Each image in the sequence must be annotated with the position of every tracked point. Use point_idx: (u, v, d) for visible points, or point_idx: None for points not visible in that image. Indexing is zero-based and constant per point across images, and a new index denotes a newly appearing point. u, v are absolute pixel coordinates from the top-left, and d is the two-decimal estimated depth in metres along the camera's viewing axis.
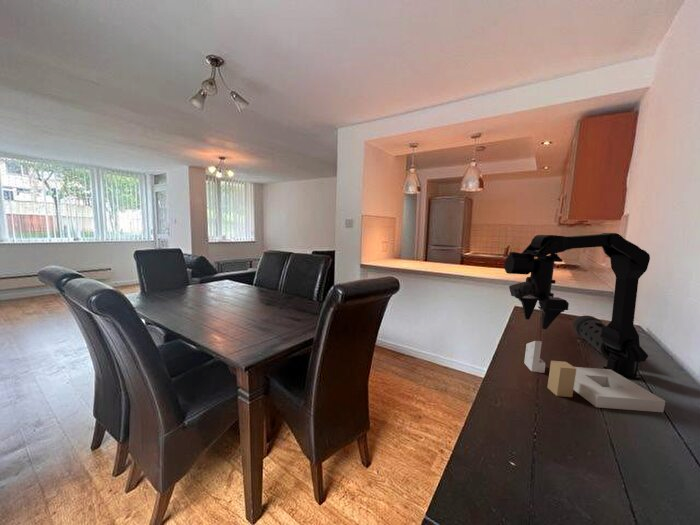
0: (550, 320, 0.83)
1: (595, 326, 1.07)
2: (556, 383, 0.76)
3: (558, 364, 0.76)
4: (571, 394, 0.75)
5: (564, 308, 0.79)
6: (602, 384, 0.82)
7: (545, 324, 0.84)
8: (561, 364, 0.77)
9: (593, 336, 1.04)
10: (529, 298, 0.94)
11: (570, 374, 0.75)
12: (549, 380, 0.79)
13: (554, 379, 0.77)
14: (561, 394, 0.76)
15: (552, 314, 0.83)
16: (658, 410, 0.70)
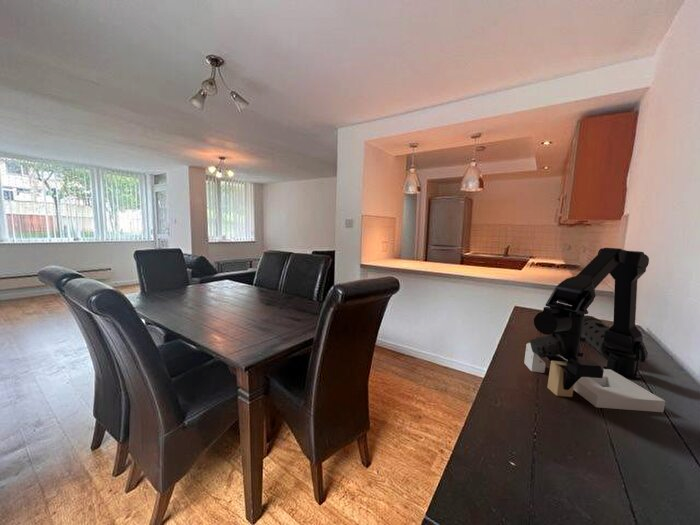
0: (573, 381, 0.74)
1: (595, 326, 1.07)
2: (556, 383, 0.76)
3: (558, 364, 0.77)
4: (571, 394, 0.75)
5: (598, 376, 0.67)
6: (602, 384, 0.82)
7: (567, 385, 0.74)
8: (561, 363, 0.77)
9: (593, 336, 1.04)
10: (558, 356, 0.79)
11: None
12: (549, 380, 0.79)
13: (554, 379, 0.77)
14: (561, 394, 0.76)
15: (575, 374, 0.73)
16: (658, 410, 0.70)
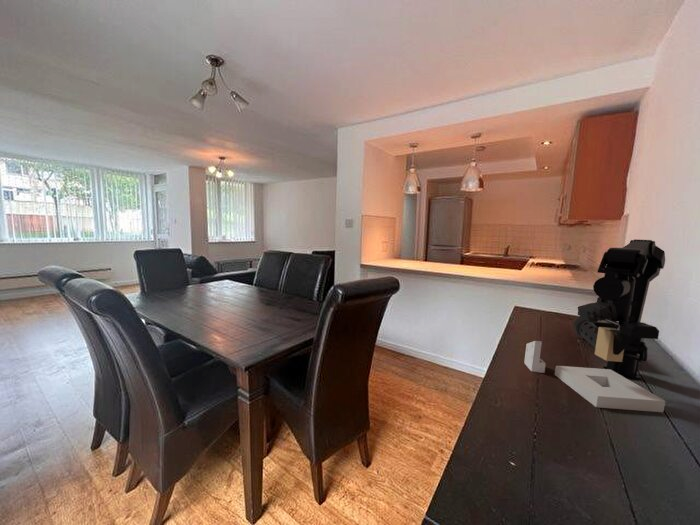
0: (624, 345, 0.74)
1: None
2: (606, 348, 0.76)
3: (607, 329, 0.77)
4: (621, 359, 0.76)
5: (654, 337, 0.67)
6: (602, 384, 0.82)
7: (618, 350, 0.75)
8: None
9: (593, 336, 1.04)
10: (605, 323, 0.79)
11: None
12: (597, 346, 0.79)
13: (603, 344, 0.77)
14: (611, 359, 0.76)
15: (627, 338, 0.73)
16: (658, 410, 0.70)
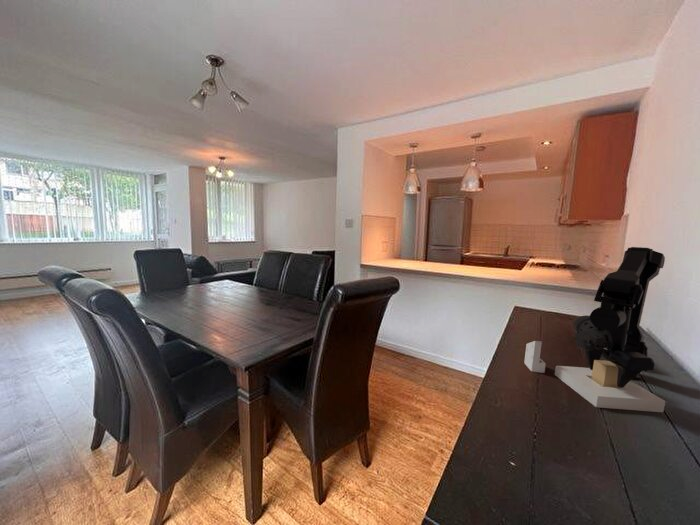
0: (628, 378, 0.72)
1: None
2: (601, 382, 0.77)
3: (603, 363, 0.78)
4: None
5: (649, 368, 0.68)
6: None
7: (622, 383, 0.73)
8: (605, 363, 0.78)
9: None
10: None
11: (615, 373, 0.76)
12: (592, 379, 0.80)
13: (598, 378, 0.78)
14: None
15: (631, 372, 0.72)
16: (658, 410, 0.70)
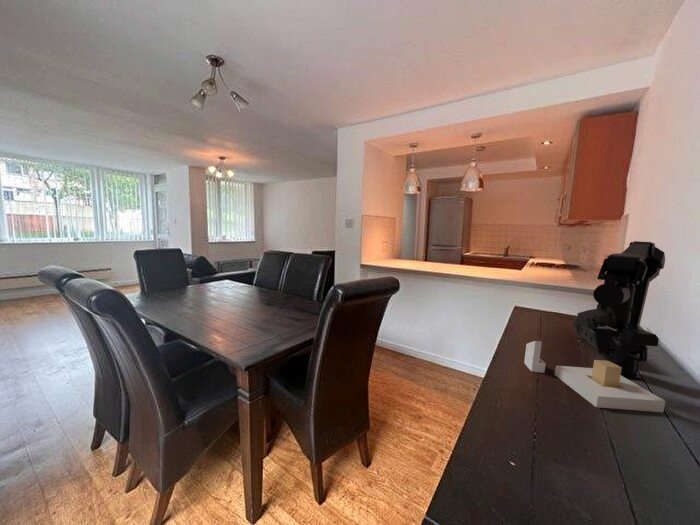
0: (625, 353, 0.73)
1: None
2: (601, 382, 0.77)
3: (603, 363, 0.78)
4: None
5: (654, 344, 0.67)
6: None
7: (619, 357, 0.74)
8: (605, 363, 0.78)
9: (593, 336, 1.04)
10: (603, 328, 0.80)
11: (615, 373, 0.76)
12: (592, 379, 0.80)
13: (598, 378, 0.78)
14: None
15: (628, 346, 0.73)
16: (658, 410, 0.70)
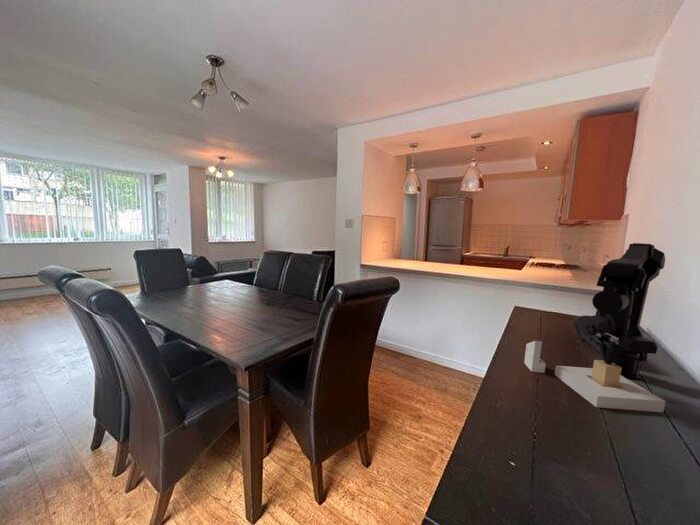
0: (616, 355, 0.76)
1: None
2: (601, 382, 0.77)
3: (603, 363, 0.78)
4: None
5: (652, 351, 0.68)
6: None
7: (610, 360, 0.77)
8: (605, 363, 0.78)
9: None
10: (609, 338, 0.78)
11: (615, 373, 0.76)
12: (592, 379, 0.80)
13: (598, 378, 0.78)
14: None
15: (618, 349, 0.76)
16: (658, 410, 0.70)
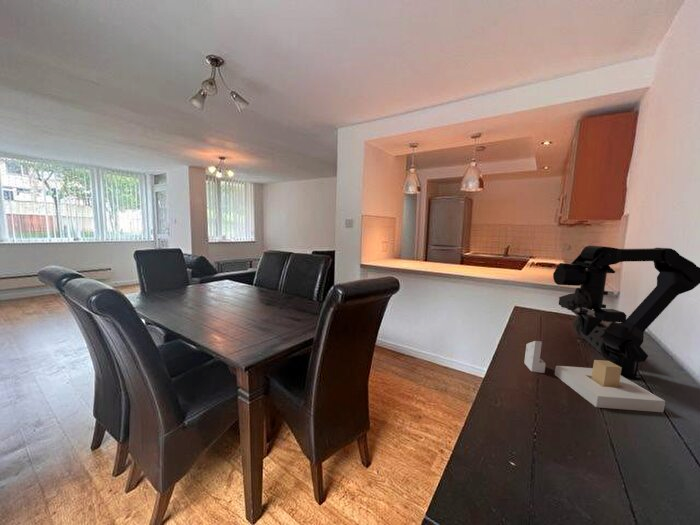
0: (592, 327, 0.88)
1: None
2: (601, 382, 0.77)
3: (603, 363, 0.78)
4: None
5: (622, 320, 0.79)
6: None
7: (587, 331, 0.88)
8: (605, 363, 0.78)
9: (593, 336, 1.04)
10: (587, 312, 0.89)
11: (615, 373, 0.76)
12: (592, 379, 0.80)
13: (598, 378, 0.78)
14: None
15: (594, 321, 0.87)
16: (658, 410, 0.70)
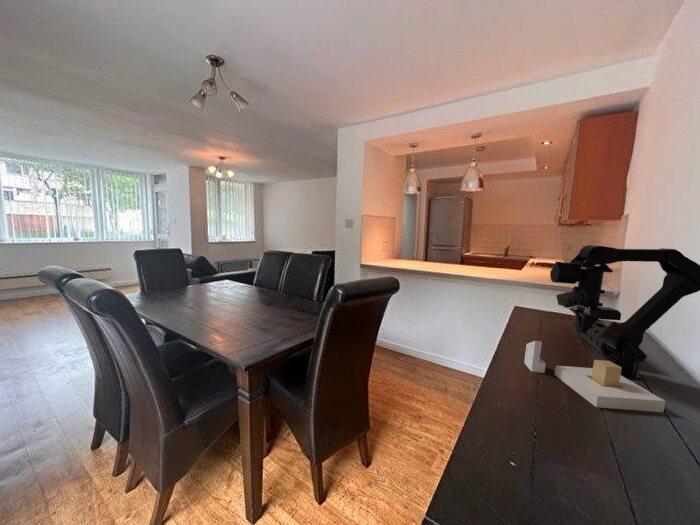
0: (589, 325, 0.89)
1: (595, 326, 1.07)
2: (601, 382, 0.77)
3: (603, 363, 0.78)
4: None
5: (617, 318, 0.81)
6: None
7: (584, 329, 0.90)
8: (605, 363, 0.78)
9: (593, 336, 1.04)
10: None
11: (615, 373, 0.76)
12: (592, 379, 0.80)
13: (598, 378, 0.78)
14: None
15: (591, 319, 0.89)
16: (658, 410, 0.70)
